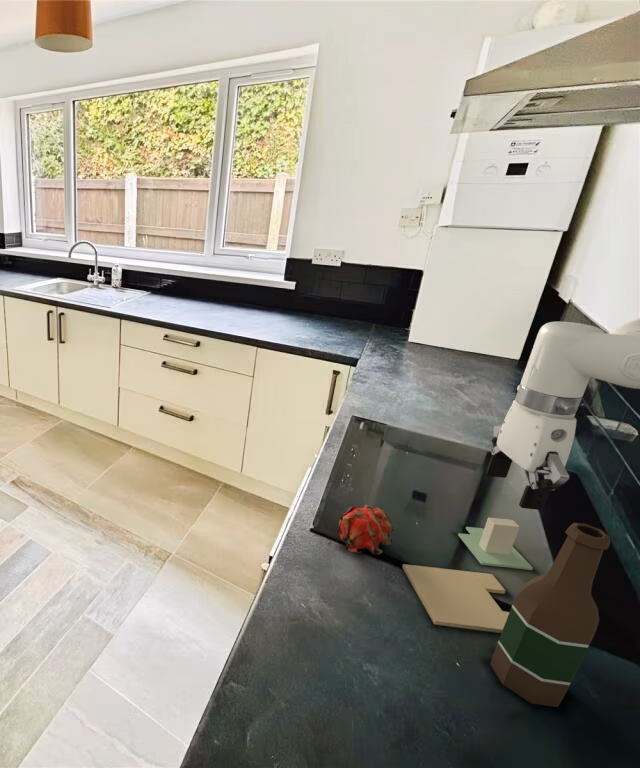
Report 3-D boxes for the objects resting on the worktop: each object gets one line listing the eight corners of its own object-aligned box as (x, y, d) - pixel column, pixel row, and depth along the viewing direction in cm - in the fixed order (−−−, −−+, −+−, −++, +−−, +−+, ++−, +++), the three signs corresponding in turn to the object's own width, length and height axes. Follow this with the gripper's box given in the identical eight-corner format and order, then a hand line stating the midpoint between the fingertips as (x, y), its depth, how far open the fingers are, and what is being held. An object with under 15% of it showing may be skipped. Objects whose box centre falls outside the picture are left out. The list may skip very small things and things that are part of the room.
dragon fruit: (382, 542, 88) (345, 574, 82) (351, 503, 91) (313, 532, 86) (415, 528, 81) (377, 562, 75) (380, 487, 84) (341, 517, 79)
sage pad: (531, 572, 79) (544, 539, 76) (480, 567, 80) (491, 534, 77) (495, 533, 88) (506, 503, 86) (450, 529, 89) (460, 498, 87)
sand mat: (490, 579, 77) (492, 574, 77) (538, 640, 66) (541, 634, 65) (401, 569, 79) (402, 563, 79) (433, 627, 68) (435, 621, 67)
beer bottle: (571, 724, 55) (652, 564, 47) (491, 690, 59) (553, 537, 50) (557, 673, 61) (626, 524, 53) (485, 645, 65) (539, 502, 57)
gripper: (618, 425, 64) (573, 525, 70) (536, 383, 80) (505, 467, 86) (558, 420, 65) (519, 519, 71) (489, 380, 81) (462, 463, 87)
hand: (511, 491), depth 79 cm, fingers open, 9 cm apart
